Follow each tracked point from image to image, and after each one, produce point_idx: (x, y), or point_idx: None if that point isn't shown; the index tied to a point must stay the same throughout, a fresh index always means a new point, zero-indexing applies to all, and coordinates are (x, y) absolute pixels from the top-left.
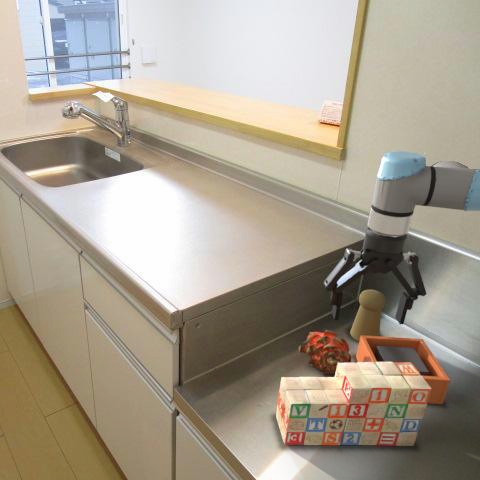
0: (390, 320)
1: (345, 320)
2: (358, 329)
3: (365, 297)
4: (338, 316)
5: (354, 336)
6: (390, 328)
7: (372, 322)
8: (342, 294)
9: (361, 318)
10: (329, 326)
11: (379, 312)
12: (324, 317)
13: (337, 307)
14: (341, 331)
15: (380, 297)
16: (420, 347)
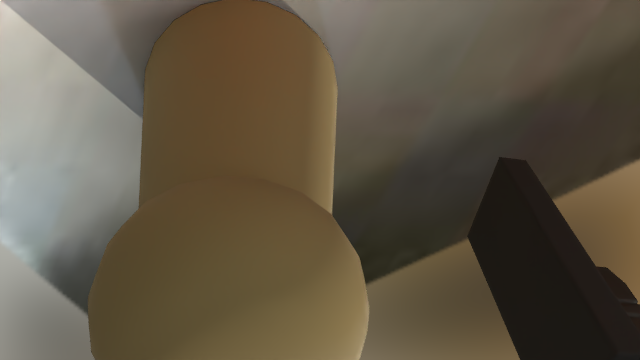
0: (3, 232)
1: None
2: (326, 92)
3: (349, 321)
4: (513, 178)
5: (333, 70)
6: (28, 157)
7: (245, 98)
8: (617, 357)
9: (324, 151)
10: (428, 185)
11: (172, 175)
12: (411, 261)
13: (572, 238)
14: (379, 137)
15: (173, 314)
16: None
